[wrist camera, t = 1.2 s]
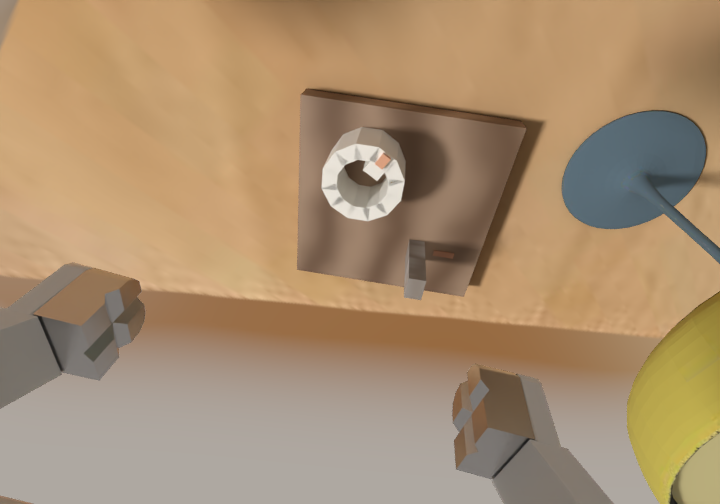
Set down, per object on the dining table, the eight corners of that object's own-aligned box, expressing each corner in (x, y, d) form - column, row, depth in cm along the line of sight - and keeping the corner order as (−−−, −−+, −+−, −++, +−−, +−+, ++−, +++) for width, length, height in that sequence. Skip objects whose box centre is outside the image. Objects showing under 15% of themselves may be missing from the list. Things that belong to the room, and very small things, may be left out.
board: (301, 258, 42) (281, 308, 36) (306, 88, 32) (278, 116, 25) (461, 284, 42) (470, 340, 35) (520, 120, 31) (548, 157, 25)
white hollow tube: (374, 210, 36) (369, 235, 32) (317, 169, 34) (306, 191, 30) (419, 159, 32) (420, 181, 29) (359, 111, 30) (352, 128, 27)
